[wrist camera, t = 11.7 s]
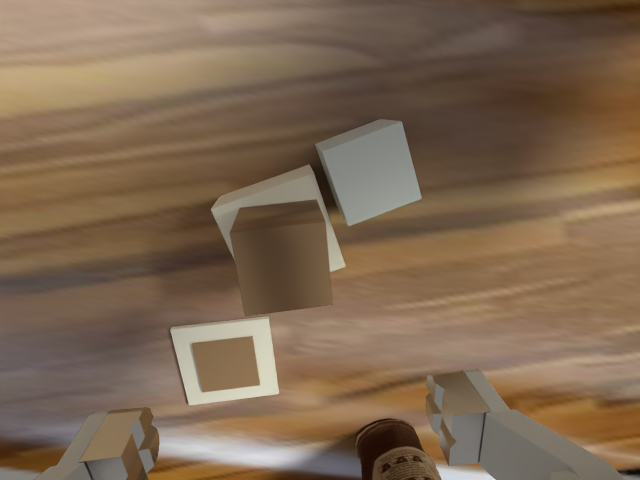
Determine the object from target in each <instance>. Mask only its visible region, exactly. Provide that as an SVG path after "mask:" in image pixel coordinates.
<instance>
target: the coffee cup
mask: <svg viewBox="0 0 640 480" xmlns="http://www.w3.org/2000/svg"><path fill="white" fill-rule="evenodd" d="M355 447H356V453H357V455H358V457H359V458H360V460H361V465H362V480H441V477H440V475H439V473H438V470H437V468H436V466H435V464H434V463H433V461H432V460H431V458H430V457H429V455H427V454H426V453H425V452H424V450H423V449H422V447H421V444H420V441H419V438H418V436H417V434H416V432H415V430H414V428H413V427H412V426H411V425H410V424H408V423H406V422H403V421H400V420H384V421H380V422H377V423H375V424H373V425H370V426H368V427H366V428H365V429H364V430H363V431H362V432H361V433H359V434H358V436H357V439H356V443H355Z"/></svg>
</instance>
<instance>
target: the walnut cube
mask: <svg viewBox="0 0 640 480" xmlns="http://www.w3.org/2000/svg"><path fill="white" fill-rule="evenodd" d="M230 238H231V243H232V249H233V254H234V259H235V265H236V270H237V276H238V281H239V286H240V292H241V297H242V302H243V308H244V313H245V316H251V315H258V314H266V313H273V312H281V311H289V310H296V309H304V308H312V307H319V306H327V305H333V302H332V290H331V278H330V267H329V255H328V243H327V231H326V221H325V219H324V216H323V214H322V211H321V209H320V206H319V204H318V201H317V199H314V200H305V201H296V202H287V203H278V204H269V205H260V206H251V207H242V208H239V211H238V213H237V216H236V218H235V221H234V223H233V226H232V228H231V231H230Z"/></svg>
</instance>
